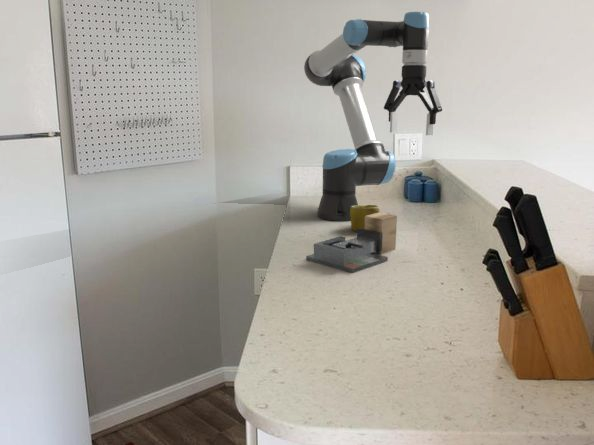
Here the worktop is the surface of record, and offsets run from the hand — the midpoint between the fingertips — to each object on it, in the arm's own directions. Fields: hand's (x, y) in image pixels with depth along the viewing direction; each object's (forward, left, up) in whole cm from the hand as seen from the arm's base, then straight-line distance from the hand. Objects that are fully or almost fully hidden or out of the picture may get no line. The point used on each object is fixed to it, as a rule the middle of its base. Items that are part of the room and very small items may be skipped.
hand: (410, 133), depth 188 cm
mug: (-8, -12, -31) cm, 34 cm away
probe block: (+10, -28, -31) cm, 43 cm away
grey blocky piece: (+11, -39, -29) cm, 50 cm away
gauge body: (+10, -42, -31) cm, 53 cm away
